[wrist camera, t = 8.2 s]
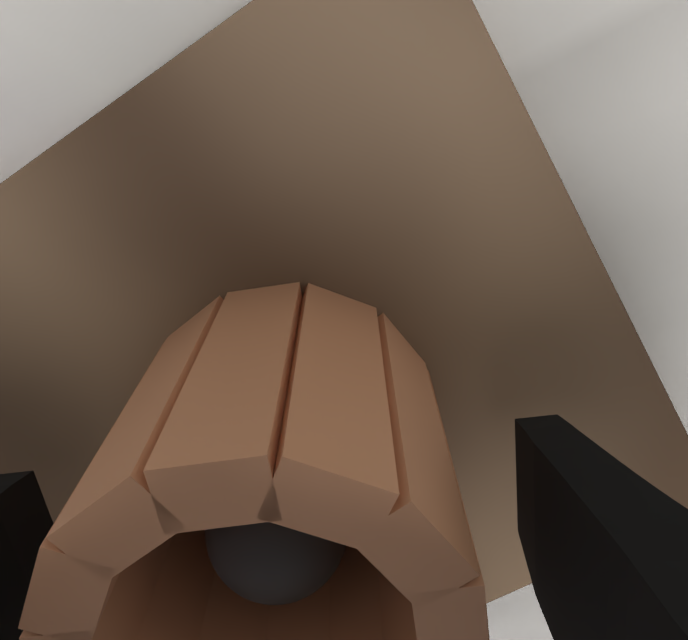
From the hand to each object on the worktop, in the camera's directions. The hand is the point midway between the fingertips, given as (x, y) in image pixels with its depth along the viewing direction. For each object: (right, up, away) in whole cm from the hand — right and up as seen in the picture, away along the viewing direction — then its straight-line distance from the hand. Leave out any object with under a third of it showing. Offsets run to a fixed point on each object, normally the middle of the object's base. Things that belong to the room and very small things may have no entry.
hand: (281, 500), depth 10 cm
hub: (0, +1, +2) cm, 2 cm away
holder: (0, +1, +3) cm, 3 cm away
